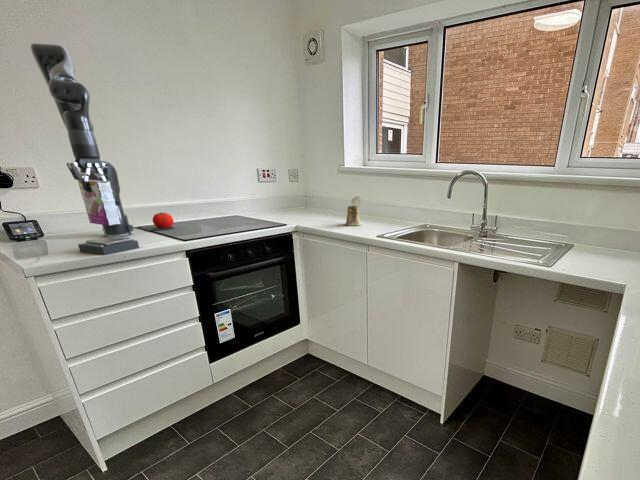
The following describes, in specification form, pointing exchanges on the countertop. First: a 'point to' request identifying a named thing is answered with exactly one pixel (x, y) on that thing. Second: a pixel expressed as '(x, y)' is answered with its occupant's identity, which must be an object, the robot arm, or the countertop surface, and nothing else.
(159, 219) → the tomato
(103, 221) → the candy bar box
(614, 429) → the countertop surface
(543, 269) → the countertop surface
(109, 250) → the scale
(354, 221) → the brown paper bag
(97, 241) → the gray square plate
